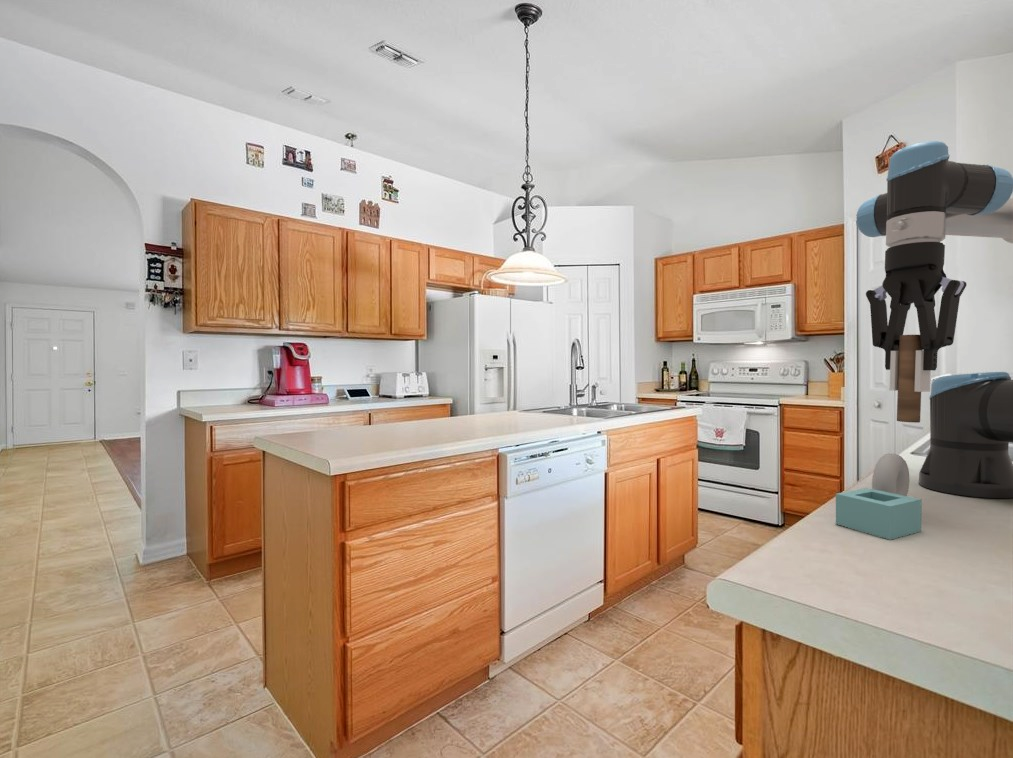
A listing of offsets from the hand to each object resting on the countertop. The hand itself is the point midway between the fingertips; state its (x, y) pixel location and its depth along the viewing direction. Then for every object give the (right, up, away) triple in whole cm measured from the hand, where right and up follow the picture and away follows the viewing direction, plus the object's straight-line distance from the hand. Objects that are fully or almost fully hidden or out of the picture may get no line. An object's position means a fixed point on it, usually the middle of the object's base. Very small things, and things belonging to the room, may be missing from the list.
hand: (909, 390), depth 83 cm
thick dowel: (0, -5, 0) cm, 5 cm away
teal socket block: (-7, -22, -2) cm, 23 cm away
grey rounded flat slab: (+2, -21, +7) cm, 23 cm away
